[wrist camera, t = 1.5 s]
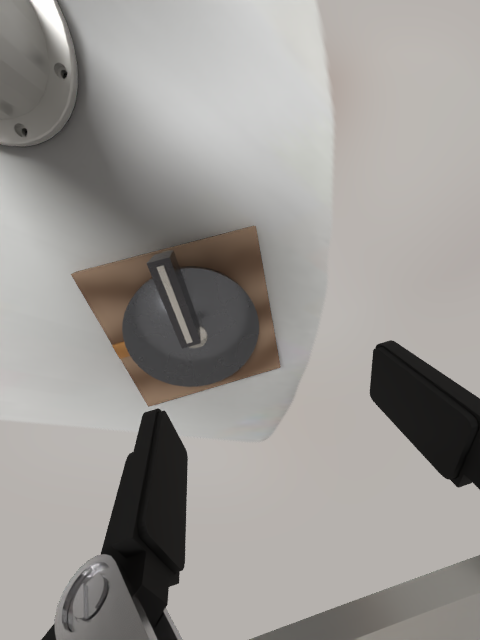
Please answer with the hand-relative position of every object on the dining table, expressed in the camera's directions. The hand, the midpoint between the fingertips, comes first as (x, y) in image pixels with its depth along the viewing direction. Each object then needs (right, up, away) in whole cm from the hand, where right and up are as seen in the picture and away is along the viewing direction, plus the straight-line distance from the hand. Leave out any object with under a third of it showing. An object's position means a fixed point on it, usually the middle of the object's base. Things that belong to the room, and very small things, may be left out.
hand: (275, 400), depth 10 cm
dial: (-7, +3, +18) cm, 20 cm away
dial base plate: (-7, +3, +20) cm, 21 cm away
